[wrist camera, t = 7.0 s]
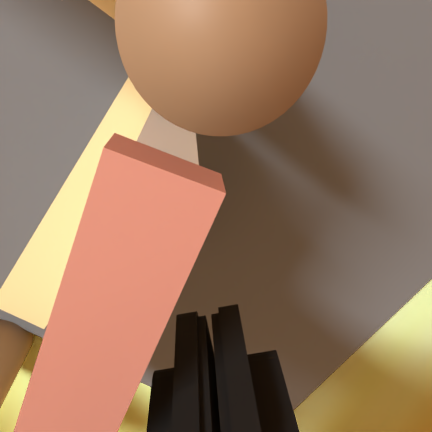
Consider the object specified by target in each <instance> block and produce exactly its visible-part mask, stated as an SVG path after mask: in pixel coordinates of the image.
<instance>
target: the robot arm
mask: <svg viewBox="0 0 432 432" xmlns="http://www.w3.org/2000/svg"><path fill="white" fill-rule="evenodd" d="M218 312H219V313H216V314H211V319H212V332H213V344H214V350H213V346H212V341H211V337H210V332H209V328H208V323H207V319H206V316H205V315H204V316H198V313H197V311H195V312H189V313H184V314H178V315H177V316H176V333H175V356H174V367H173V368H167V369H162V370H156V371H154V373H153V377H152V385H151V395H150V404H149V414H148V424H147V432H299V429H298V425H297V422H296V418H295V415H294V411H293V408H292V404H291V400H290V397H289V393H288V390H287V386H286V383H285V379H284V375H283V372H282V368H281V365H280V361H279V357H278V354H277V351H276V350H271V351H266V352H260V353H254V354H248V355H247V350H246V345H245V340H244V334H243V329H242V323H241V318H240V313H239V307H238V304H235V305H229V306H224V307H218Z"/></svg>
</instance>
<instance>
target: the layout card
mask: <svg viewBox="0 0 432 432" xmlns="http://www.w3.org/2000/svg"><path fill="white" fill-rule="evenodd" d="M115 3H116V0H0V319H2V320H7V321H10V322H13V323H15V324H17V325H19V326H20V327H22V328H23V329H24V330H26V331H28V332H31V333H33V334H35V335H37V336H39V337H42V338H43V337H44V334H45V331H46V328H47V324H48V321H49V318H50V315H51V312H52V309H53V305H54V302H55V299H56V296H57V293H58V290H59V287H60V283H61V280H62V277H63V274H64V271H65V268H66V264H67V261H68V258H69V255H70V252H71V249H72V245H73V242H74V239H75V236H76V233H77V230H78V226H79V223H80V220H81V217H82V214H83V211H84V207H85V204H86V201H87V198H88V195H89V192H90V188H91V185H92V182H93V179H94V176H95V173H96V169H97V166H98V163H99V160H100V157H101V154H102V150H103V147H104V146H105V145H106V143H107V142H108V141H109V139H110V138H111V137H112V135H113V134H114V133H116V134H119V135H122V136H124V137H127V138H129V139H132V140H135V141H137V139H138V137H139V135H140V133H141V130H142V128H143V126H144V124H145V122H146V120H147V118H148V116H149V114H150V112H151V110H152V108H151V107H150V106H149V105H148V104H147V103H146V102H145V101H144V99H143V98H142V97H141V95H140V94H139V93H138V92H137V90H136V89H135V87H134V85H133V84H132V82H131V80H130V79H129V77H128V75H127V72H126V70H125V68H124V66H123V63H122V60H121V57H120V53H119V50H118V45H117V40H116V33H115ZM326 3H327V32H326V40H325V45H324V49H323V53H322V57H321V59H320V62H319V65H318V67H317V70H316V72H315V74H314V76H313V78H312V80H311V82H310V83H309V85H308V86H307V88H306V89H305V91H304V92H303V94H302V95H301V96H300V97H299V99H298V100H297V101H296V102H295V103H294V104H293V105H292V106H291V107H290V108H289V109H288V110H287V111H286V112H285V113H284V114H282V115H281V116H280V117H278V118H277V119H275V120H274V121H273V122H271V123H269V124H267V125H265V126H263V127H261V128H259V129H256V130H254V131H251V132H248V133H244V134H240V135H233V136H208V135H202V134H197V133H196V141H197V151H198V161H199V165H200V166H202V167H205V168H207V169H210V170H213V171H215V172H218V173H220V174H221V175H222V179H223V183H224V187H225V190H226V195H225V197H224V199H223V202H222V204H221V206H220V208H219V210H218V213H217V215H216V217H215V219H214V221H213V224H212V226H211V228H210V230H209V232H208V234H207V237H206V239H205V241H204V243H203V245H202V248H201V250H200V252H199V254H198V256H197V259H196V261H195V263H194V265H193V267H192V270H191V272H190V274H189V276H188V278H187V280H186V283H185V285H184V287H183V289H182V291H181V294H180V296H179V298H178V300H177V302H176V305H175V307H174V309H173V311H172V313H171V316H170V318H169V320H168V322H167V324H166V327H165V329H164V331H163V333H162V335H161V337H160V340H159V342H158V344H157V346H156V348H155V351H154V353H153V355H152V357H151V359H150V362H149V364H148V366H147V368H146V370H145V373H144V375H143V377H142V379H141V381H140V382H141V383H144V384H146V385H148V386H150V387H151V385H152V377H153V373H154V371H156V370H162V369H167V368H173V367H174V356H175V333H176V316H177V315H178V314H184V313H189V312H195V311H197V313H198V316H204V315H205V316H206V319H207V323H208V328H209V332H210V337H211V341H212V346H213V350H214V344H213V332H212V319H211V314H216V313H219V312H218V307H224V306H229V305H235V304H238V307H239V313H240V318H241V323H242V329H243V334H244V340H245V345H246V350H247V355H248V354H254V353H260V352H266V351H271V350H276V351H277V354H278V357H279V361H280V365H281V368H282V372H283V375H284V379H285V383H286V386H287V390H288V393H289V397H290V400H291V404H292V408H293V410H294V409H295V408H296V407H297V406H299V405H300V404H301V403H302V402H303V401H304V400H305V399H306V398H307V397H308V396H309V395H310V394H311V393H312V392H313V391H314V390H315V389H316V388H317V387H319V386H320V385H321V384H322V383H323V382H324V381H325V380H326V379H327V378H328V377H329V376H330V375H331V374H332V373H333V372H334V371H335V370H336V369H337V368H338V367H340V366H341V365H342V364H343V363H344V362H345V361H346V360H347V359H348V358H349V357H350V356H351V355H352V354H353V353H354V352H355V351H356V350H357V349H358V348H360V347H361V346H362V345H363V344H364V343H365V342H366V341H367V340H368V339H369V338H370V337H371V336H372V335H373V334H374V333H375V332H376V331H377V330H378V329H379V328H381V327H382V326H383V325H384V324H385V323H386V322H387V321H388V320H389V319H390V318H391V317H392V316H393V315H394V314H395V313H396V312H397V311H398V310H399V309H401V308H402V307H403V306H404V305H405V304H406V303H407V302H408V301H409V300H410V299H411V298H412V297H413V296H414V295H415V294H416V293H417V292H418V291H419V290H420V289H422V288H423V287H424V286H425V285H426V284H427V283H428V282H429V281H430V280H431V279H432V0H326Z"/></svg>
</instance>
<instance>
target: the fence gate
mask: <svg viewBox="0 0 432 432" xmlns="http://www.w3.org/2000/svg"><path fill="white" fill-rule="evenodd" d="M225 195H226V190H225V187H224V183H223V179H222V175H221V174H220V173H218V172H215V171H213V170H210V169H207V168H205V167H202V166H200V165H199V161H198V151H197V141H196V133H194V132H190V131H187V130H185V129H183V128H180V127H178V126H176V125H174V124H173V123H171V122H169V121H168V120H166V119H164V118H163V117H162V116H161V115H159V114H158V113H157V112H155V111H154V110H153V109H152V110H151V112H150V114H149V116H148V118H147V120H146V122H145V124H144V126H143V128H142V130H141V133H140V135H139V137H138V139H137V141H135V140H132V139H129V138H127V137H124V136H122V135H119V134H116V133H114V134H113V135H112V137H111V138H110V139H109V141H108V142H107V143H106V145H105V146H104V147H103V150H102V154H101V157H100V160H99V163H98V166H97V169H96V173H95V176H94V179H93V182H92V185H91V188H90V192H89V195H88V198H87V201H86V204H85V207H84V211H83V214H82V217H81V220H80V223H79V226H78V230H77V233H76V236H75V239H74V242H73V245H72V249H71V252H70V255H69V258H68V261H67V264H66V268H65V271H64V274H63V277H62V280H61V283H60V287H59V290H58V293H57V296H56V299H55V302H54V305H53V309H52V312H51V315H50V318H49V321H48V324H47V328H46V331H45V334H44V337H43V340H42V343H41V347H40V350H39V353H38V356H37V359H36V362H35V366H34V369H33V372H32V375H31V378H30V381H29V385H28V388H27V391H26V394H25V397H24V400H23V404H22V407H21V410H20V413H19V416H18V419H17V423H16V426H15V429H14V432H118V429H119V427H120V425H121V423H122V421H123V419H124V416H125V414H126V412H127V410H128V408H129V405H130V403H131V401H132V399H133V397H134V394H135V392H136V390H137V388H138V386H139V383H140V381H141V379H142V377H143V375H144V373H145V370H146V368H147V366H148V364H149V362H150V359H151V357H152V355H153V353H154V351H155V348H156V346H157V344H158V342H159V340H160V337H161V335H162V333H163V331H164V329H165V327H166V324H167V322H168V320H169V318H170V316H171V313H172V311H173V309H174V307H175V305H176V302H177V300H178V298H179V296H180V294H181V291H182V289H183V287H184V285H185V283H186V280H187V278H188V276H189V274H190V272H191V270H192V267H193V265H194V263H195V261H196V259H197V256H198V254H199V252H200V250H201V248H202V245H203V243H204V241H205V239H206V237H207V234H208V232H209V230H210V228H211V226H212V224H213V221H214V219H215V217H216V215H217V213H218V210H219V208H220V206H221V204H222V202H223V199H224V197H225Z"/></svg>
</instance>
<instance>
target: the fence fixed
mask: <svg viewBox="0 0 432 432" xmlns="http://www.w3.org/2000/svg"><path fill="white" fill-rule="evenodd" d="M326 32H327V3H326V0H116V3H115V33H116V40H117V45H118V50H119V53H120V57H121V60H122V63H123V66H124V68H125V70H126V72H127V75H128V77H129V79H130V80H131V82H132V84H133V85H134V87H135V89H136V90H137V92H138V93H139V94H140V95H141V97H142V98H143V99H144V101H145V102H146V103H147V104H148V105H149V106H150V107H151V108H152V109H153V110H154V111H155V112H157V113H158V114H159V115H161V116H162V117H163V118H164V119H166V120H168V121H169V122H171V123H173V124H174V125H176V126H178V127H180V128H183V129H185V130H187V131H190V132H194V133H197V134H202V135H208V136H233V135H240V134H244V133H248V132H251V131H254V130H256V129H259V128H261V127H263V126H265V125H267V124H269V123H271V122H273V121H274V120H275V119H277V118H278V117H280V116H281V115H282V114H284V113H285V112H286V111H287V110H288V109H289V108H290V107H291V106H292V105H293V104H294V103H295V102H296V101H297V100H298V99H299V97H300V96H301V95H302V94H303V92H304V91H305V89H306V88H307V86H308V85H309V83H310V82H311V80H312V78H313V76H314V74H315V72H316V70H317V67H318V65H319V62H320V59H321V57H322V53H323V49H324V45H325V40H326ZM32 343H33V334H32V333H31V332H28V331H26V330H24V329H23V328H22V327H20V326H19V325H17V324H15V323H13V322H10V321H7V320H2V319H0V408H1V406H2V404H3V402H4V400H5V398H6V396H7V394H8V392H9V390H10V388H11V386H12V384H13V382H14V380H15V378H16V376H17V374H18V372H19V370H20V368H21V366H22V364H23V362H24V360H25V358H26V356H27V354H28V352H29V350H30V348H31V346H32Z"/></svg>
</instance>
